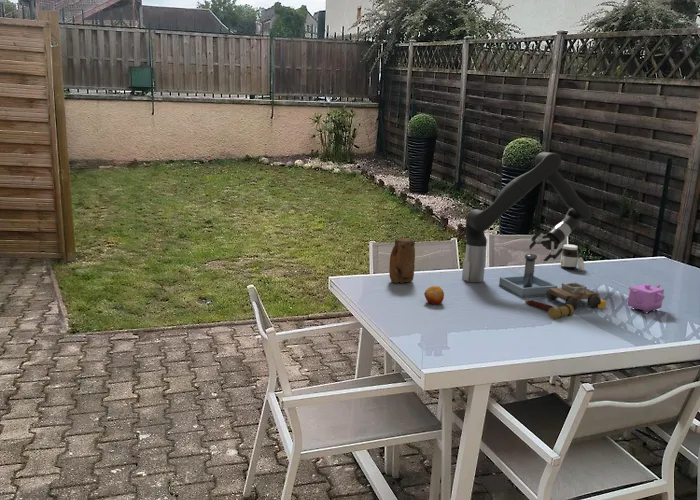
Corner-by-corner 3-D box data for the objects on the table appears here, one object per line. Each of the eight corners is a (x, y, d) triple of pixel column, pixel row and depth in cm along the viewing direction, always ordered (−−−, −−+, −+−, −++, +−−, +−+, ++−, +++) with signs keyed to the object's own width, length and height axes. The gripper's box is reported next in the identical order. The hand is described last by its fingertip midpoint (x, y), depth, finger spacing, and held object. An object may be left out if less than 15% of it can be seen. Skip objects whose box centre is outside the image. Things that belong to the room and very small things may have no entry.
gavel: (517, 297, 263) (533, 294, 268) (516, 308, 264) (533, 304, 269) (557, 309, 246) (574, 305, 251) (557, 320, 247) (574, 316, 252)
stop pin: (525, 290, 281) (529, 257, 278) (519, 286, 286) (522, 254, 282) (535, 289, 283) (539, 256, 279) (529, 285, 288) (532, 253, 284)
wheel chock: (598, 308, 263) (599, 301, 262) (593, 305, 266) (594, 299, 265) (605, 307, 264) (606, 301, 263) (600, 305, 267) (601, 298, 266)
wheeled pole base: (567, 310, 258) (569, 291, 257) (545, 299, 272) (547, 281, 270) (599, 307, 264) (602, 289, 262) (576, 296, 277) (578, 279, 275)
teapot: (623, 302, 272) (627, 278, 269) (657, 305, 269) (661, 281, 266) (629, 313, 258) (633, 288, 255) (665, 317, 254) (669, 291, 252)
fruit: (447, 297, 265) (445, 284, 260) (442, 311, 260) (440, 298, 255) (429, 294, 269) (427, 281, 263) (423, 308, 264) (421, 295, 258)
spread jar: (558, 264, 332) (561, 243, 329) (581, 266, 330) (583, 244, 327) (562, 270, 320) (565, 248, 317) (586, 272, 319) (588, 250, 316)
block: (405, 278, 297) (407, 236, 292) (415, 282, 291) (417, 239, 286) (386, 281, 291) (388, 238, 287) (396, 285, 285) (398, 242, 280)
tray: (521, 297, 273) (522, 288, 272) (499, 285, 290) (499, 277, 289) (556, 294, 279) (557, 286, 278) (532, 283, 296) (533, 275, 295)
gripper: (549, 219, 296) (527, 240, 291) (573, 239, 292) (551, 260, 286) (544, 227, 303) (523, 248, 298) (568, 247, 299) (546, 268, 293)
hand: (537, 254), depth 292 cm, fingers open, 8 cm apart
